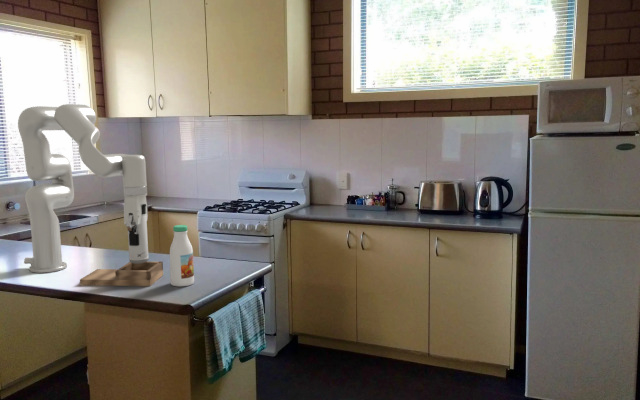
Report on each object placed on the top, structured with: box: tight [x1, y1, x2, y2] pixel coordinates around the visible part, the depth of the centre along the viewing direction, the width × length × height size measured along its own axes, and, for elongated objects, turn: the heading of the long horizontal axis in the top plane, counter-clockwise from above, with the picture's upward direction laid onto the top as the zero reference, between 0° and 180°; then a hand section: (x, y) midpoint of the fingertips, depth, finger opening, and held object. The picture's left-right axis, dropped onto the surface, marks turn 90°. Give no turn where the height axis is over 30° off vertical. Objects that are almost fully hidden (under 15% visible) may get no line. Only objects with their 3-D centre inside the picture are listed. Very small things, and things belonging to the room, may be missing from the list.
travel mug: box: [127, 204, 149, 264], centre depth 187 cm, size 6×7×20 cm
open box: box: [79, 260, 164, 287], centre depth 189 cm, size 24×13×5 cm, turn 87°
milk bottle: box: [169, 224, 195, 287], centre depth 184 cm, size 8×8×20 cm
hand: (138, 242), depth 187 cm, fingers closed on travel mug, 6 cm apart
